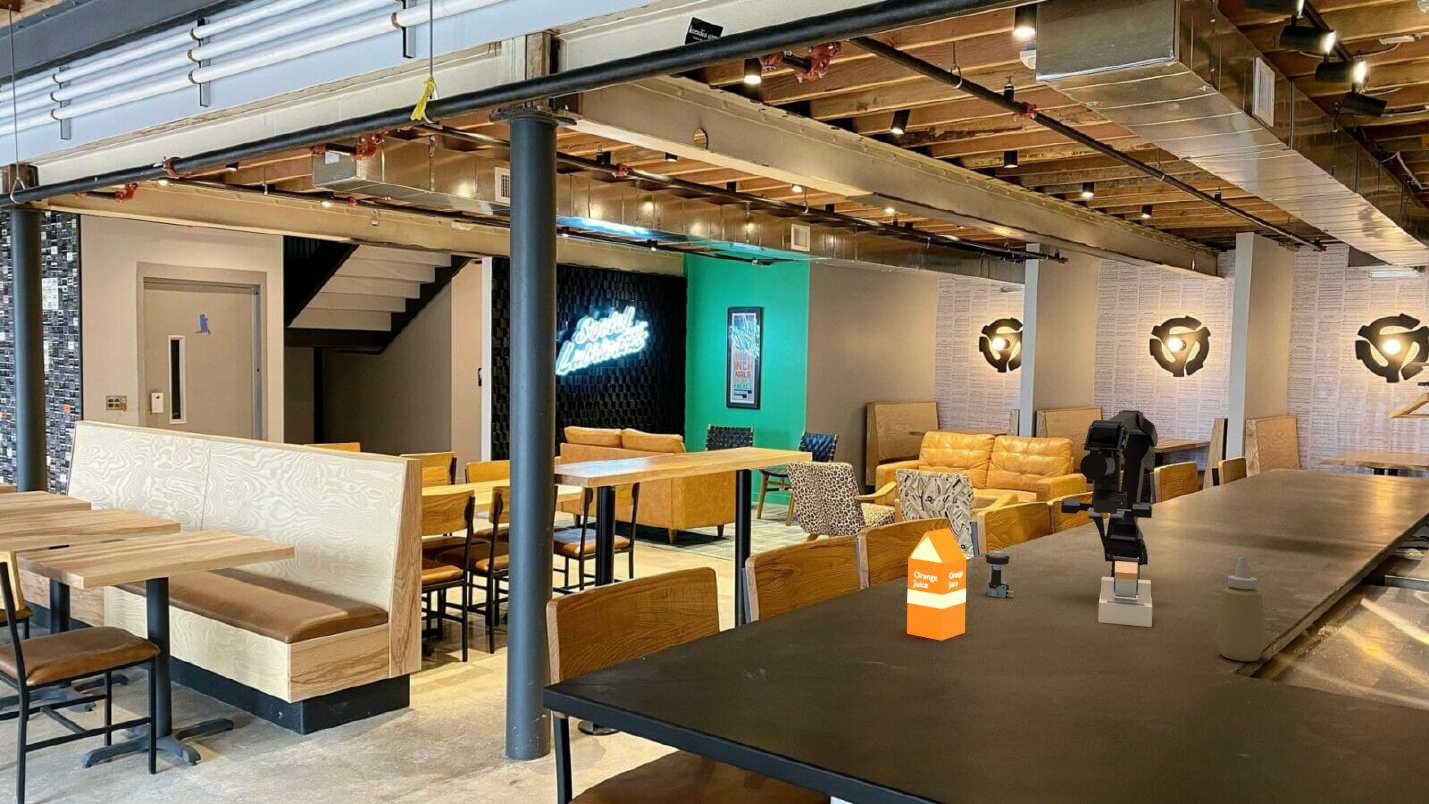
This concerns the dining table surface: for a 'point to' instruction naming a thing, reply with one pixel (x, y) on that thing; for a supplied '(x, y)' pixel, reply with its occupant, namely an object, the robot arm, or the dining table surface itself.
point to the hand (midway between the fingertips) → (1105, 546)
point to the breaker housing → (1125, 605)
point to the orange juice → (936, 587)
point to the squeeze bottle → (1241, 617)
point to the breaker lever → (1125, 579)
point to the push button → (997, 574)
